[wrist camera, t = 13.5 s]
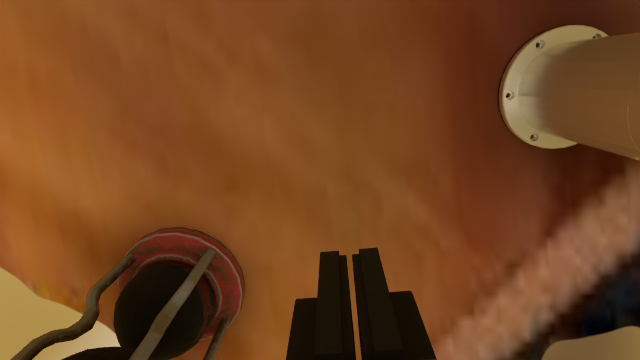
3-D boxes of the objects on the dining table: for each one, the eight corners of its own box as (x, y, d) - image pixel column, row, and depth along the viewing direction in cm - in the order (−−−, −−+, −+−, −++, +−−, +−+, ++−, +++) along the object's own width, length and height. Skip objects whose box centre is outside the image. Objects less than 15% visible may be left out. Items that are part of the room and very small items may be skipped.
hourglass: (102, 288, 47) (-132, 507, 23) (165, 202, 43) (-38, 360, 20) (201, 352, 50) (81, 609, 26) (269, 277, 46) (202, 498, 22)
